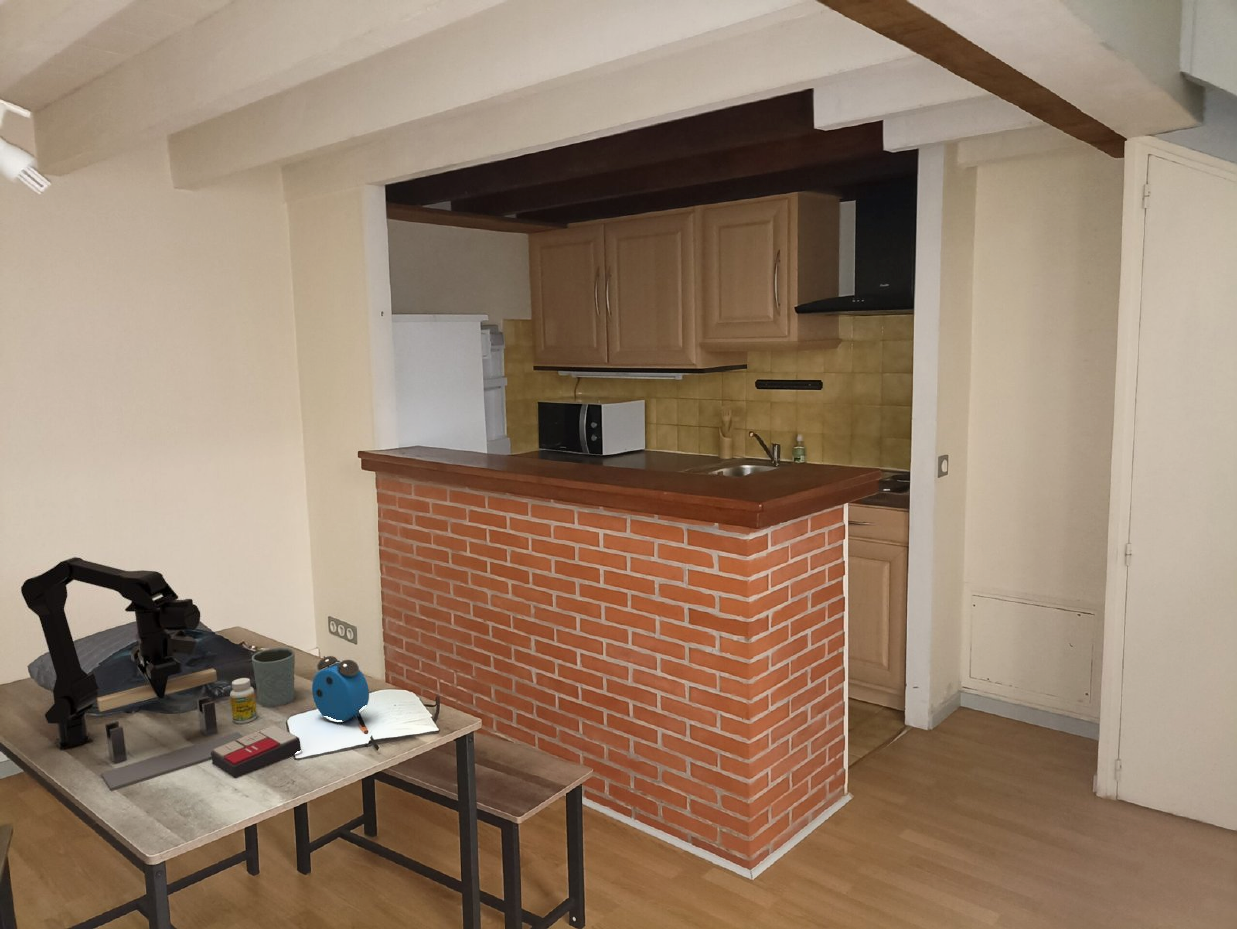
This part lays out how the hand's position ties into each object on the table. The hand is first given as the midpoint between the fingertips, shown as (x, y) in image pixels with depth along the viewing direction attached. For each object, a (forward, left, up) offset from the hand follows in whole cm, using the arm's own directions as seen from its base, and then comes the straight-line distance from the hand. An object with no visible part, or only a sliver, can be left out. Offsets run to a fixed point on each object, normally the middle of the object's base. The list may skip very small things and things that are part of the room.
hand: (159, 696), depth 203 cm
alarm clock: (+16, +35, -12) cm, 40 cm away
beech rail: (0, 0, +1) cm, 1 cm away
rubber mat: (+11, 0, -11) cm, 16 cm away
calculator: (+22, +13, -12) cm, 28 cm away
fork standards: (0, 0, -11) cm, 11 cm away
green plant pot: (-7, +28, -12) cm, 31 cm away
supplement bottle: (-1, +18, -12) cm, 21 cm away
